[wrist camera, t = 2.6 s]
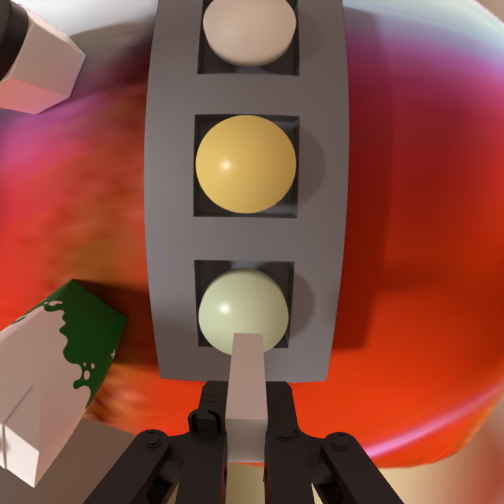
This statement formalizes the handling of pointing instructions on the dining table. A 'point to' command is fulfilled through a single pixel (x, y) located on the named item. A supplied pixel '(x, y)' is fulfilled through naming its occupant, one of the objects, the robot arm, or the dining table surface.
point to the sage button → (243, 308)
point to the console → (246, 224)
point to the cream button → (249, 30)
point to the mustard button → (245, 164)
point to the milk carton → (52, 375)
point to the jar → (34, 61)
